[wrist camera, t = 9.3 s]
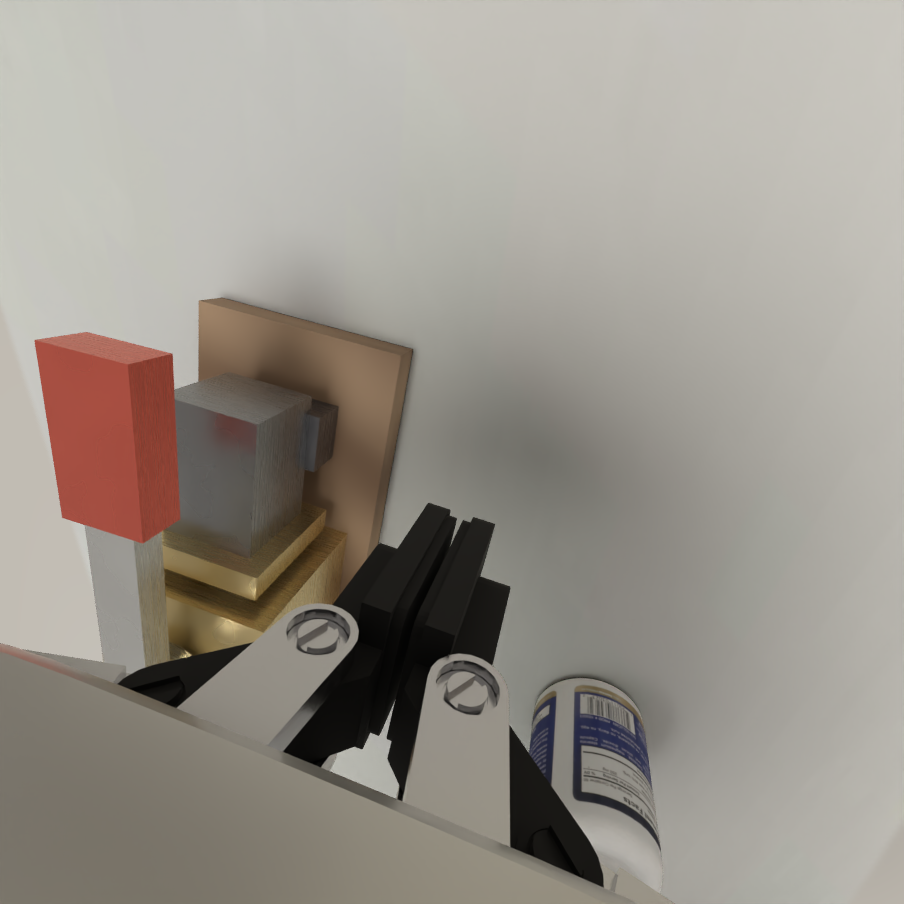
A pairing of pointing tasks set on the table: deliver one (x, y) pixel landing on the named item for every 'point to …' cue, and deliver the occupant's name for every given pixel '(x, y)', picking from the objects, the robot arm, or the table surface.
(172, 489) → the lever
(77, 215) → the table surface
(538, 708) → the pill bottle
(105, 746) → the robot arm
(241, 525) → the valve
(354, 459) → the mount board
